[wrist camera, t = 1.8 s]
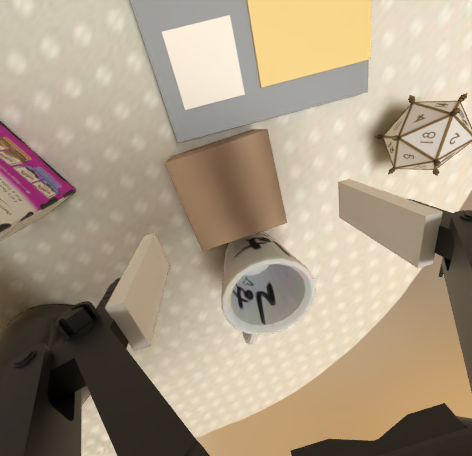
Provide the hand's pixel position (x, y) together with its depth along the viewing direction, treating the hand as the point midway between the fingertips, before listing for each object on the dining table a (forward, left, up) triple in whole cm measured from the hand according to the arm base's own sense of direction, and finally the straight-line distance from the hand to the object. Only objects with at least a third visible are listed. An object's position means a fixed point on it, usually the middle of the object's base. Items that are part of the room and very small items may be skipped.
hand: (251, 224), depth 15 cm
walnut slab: (0, 0, -14) cm, 14 cm away
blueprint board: (+7, +14, -14) cm, 21 cm away
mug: (0, -13, -14) cm, 19 cm away
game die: (+23, 0, -14) cm, 27 cm away
